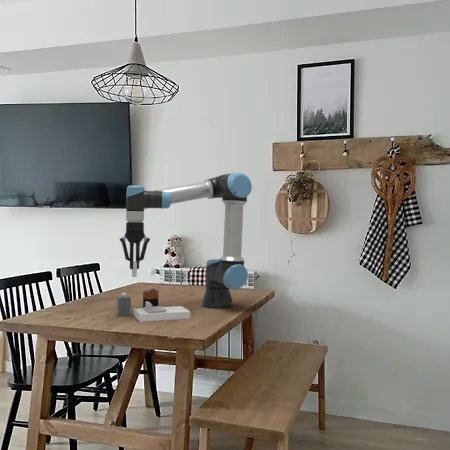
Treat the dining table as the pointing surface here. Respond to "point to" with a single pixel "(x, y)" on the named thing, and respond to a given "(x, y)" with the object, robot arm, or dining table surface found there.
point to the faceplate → (162, 314)
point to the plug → (124, 305)
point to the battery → (150, 297)
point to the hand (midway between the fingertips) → (134, 276)
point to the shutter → (153, 308)
